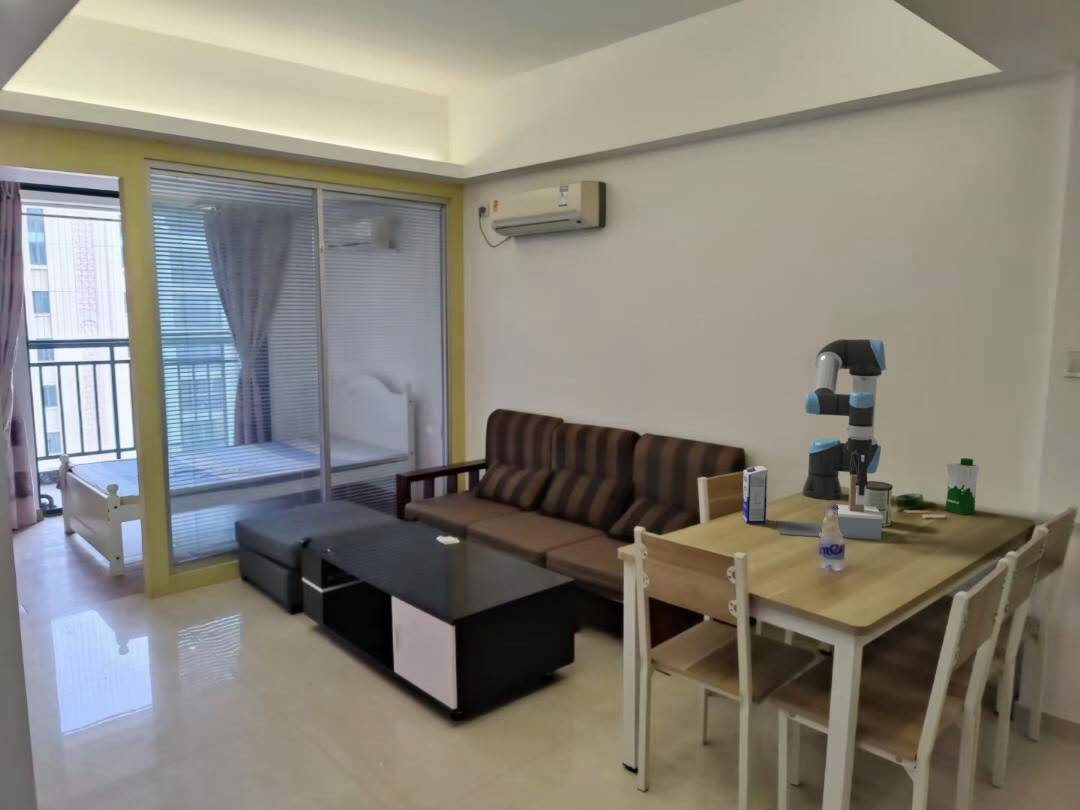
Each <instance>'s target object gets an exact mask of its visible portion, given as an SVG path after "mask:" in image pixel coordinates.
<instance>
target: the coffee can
mask: <svg viewBox="0 0 1080 810" xmlns="http://www.w3.org/2000/svg"><path fill="white" fill-rule="evenodd" d="M867 483H868V484H867V485H866V494H865V505H864V506H871V507H876V508H877V509H878V511H879V512H880V513H881V514H882V516H883V519H882V525H881V528H882V527H883V528H884V527H889V526H890V525H891V514H892V513H891V512H892V500H893V499H892V494H893V487H894V486H893V485H892V484H891V483H888V482H884V481H875V480H867Z"/></svg>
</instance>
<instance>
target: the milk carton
mask: <svg viewBox="0 0 1080 810" xmlns="http://www.w3.org/2000/svg"><path fill="white" fill-rule="evenodd" d="M768 470H769V469H768V468H766V467H765V466H763V465H757V466H749V467H747V468H746V469H743V479H742V484H743V485H742V506H741V507H742V509H741V510H742V511H741V512H742V514H741V518H742V520H743V521H744V522H745V523H746V524H749V525H751V524H752V525H758V524H760V525H761V524H762V525H763V524H764V525H765V524H767V523H766V522H767V502H768V501H767V499H768V498H767V497H768V495H767V494H768V473H769V471H768Z"/></svg>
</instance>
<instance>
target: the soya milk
mask: <svg viewBox="0 0 1080 810" xmlns="http://www.w3.org/2000/svg"><path fill="white" fill-rule="evenodd" d="M946 466H947V467H946V468H947V472H948V479H947V493H946V494H947V496H946V502H945V509H944V510H945V511H946V512H949V513H953V514H957V515H962V516H963V515H968V514H969V515H970V514H975V512H976V511H975V509H976V507H975V506H976V493H977V478H978V474H979V469H980V465H975V464H974V459H972V458H968V457H967V458H966V457H962V458H960V462H953V463H949V464H948V463H947V464H946Z"/></svg>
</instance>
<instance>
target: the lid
mask: <svg viewBox="0 0 1080 810" xmlns="http://www.w3.org/2000/svg"><path fill="white" fill-rule="evenodd" d="M849 483H850V487H848V504H837V505H838V508H839V509H838V517H850V518H867V519H883V516H882V514H881V513H880V512H879V511H878V509H877V508H876V507H871V506H864V505H856V489H857V485H855V484H856V483H858V482H857V475H854V474H850V473H849Z"/></svg>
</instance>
